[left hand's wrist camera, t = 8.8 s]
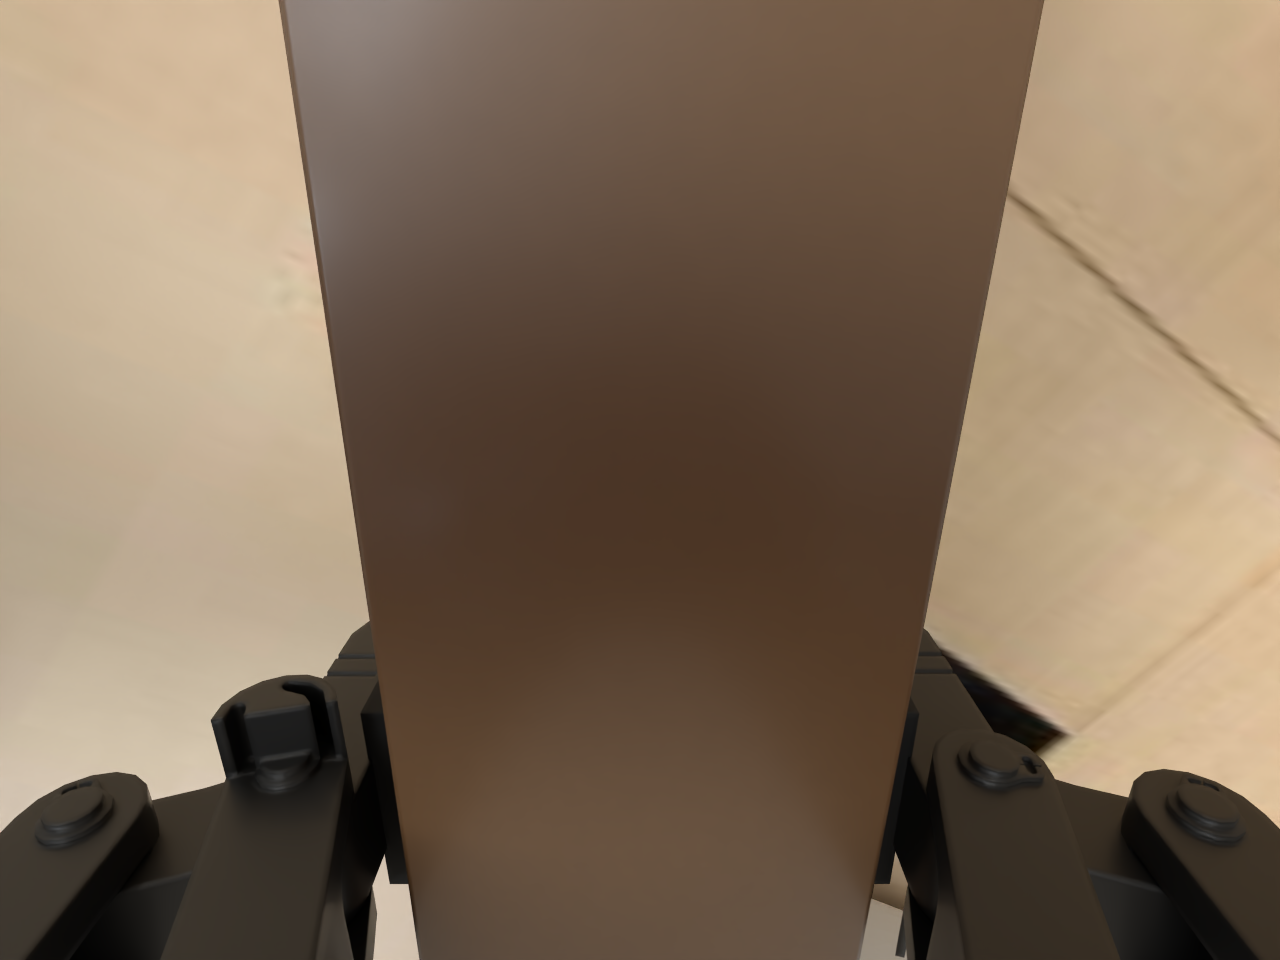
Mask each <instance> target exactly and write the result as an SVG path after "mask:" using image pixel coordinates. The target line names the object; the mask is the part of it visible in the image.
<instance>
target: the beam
mask: <svg viewBox="0 0 1280 960" xmlns="http://www.w3.org/2000/svg"><path fill="white" fill-rule="evenodd" d="M1043 3H1044V0H279V6H280V13H281V20H282V26H283V33H284V40H285V47H286V54H287V60H288V67H289V74H290V81H291V88H292V95H293V101H294V108H295V115H296V122H297V129H298V135H299V142H300V149H301V156H302V163H303V169H304V176H305V183H306V190H307V197H308V203H309V210H310V217H311V224H312V231H313V237H314V244H315V251H316V258H317V265H318V272H319V278H320V285H321V292H322V299H323V306H324V312H325V319H326V326H327V333H328V340H329V346H330V353H331V360H332V367H333V374H334V380H335V387H336V394H337V401H338V408H339V414H340V421H341V428H342V435H343V442H344V449H345V455H346V462H347V469H348V476H349V483H350V489H351V496H352V503H353V510H354V517H355V523H356V530H357V537H358V544H359V551H360V557H361V564H362V571H363V578H364V585H365V591H366V598H367V605H368V612H369V619H370V626H371V632H372V639H373V646H374V653H375V660H376V666H377V673H378V680H379V687H380V694H381V700H382V707H383V714H384V721H385V728H386V734H387V741H388V748H389V755H390V762H391V768H392V775H393V782H394V789H395V796H396V803H397V809H398V816H399V823H400V830H401V837H402V843H403V850H404V857H405V864H406V871H407V877H408V884H409V891H410V898H411V905H412V911H413V918H414V925H415V932H416V939H417V945H418V952H419V959H420V960H860V955H861V950H862V945H863V939H864V934H865V929H866V924H867V919H868V913H869V908H870V903H871V898H872V893H873V887H874V882H875V877H876V872H877V867H878V861H879V856H880V851H881V846H882V841H883V835H884V830H885V825H886V820H887V815H888V809H889V804H890V799H891V794H892V789H893V783H894V778H895V773H896V768H897V763H898V757H899V752H900V747H901V742H902V737H903V731H904V726H905V721H906V716H907V711H908V705H909V700H910V695H911V690H912V685H913V679H914V674H915V669H916V664H917V659H918V653H919V648H920V643H921V638H922V633H923V627H924V622H925V617H926V612H927V607H928V601H929V596H930V591H931V586H932V581H933V575H934V570H935V565H936V560H937V555H938V549H939V544H940V539H941V534H942V529H943V523H944V518H945V513H946V508H947V503H948V497H949V492H950V487H951V482H952V476H953V471H954V466H955V461H956V456H957V450H958V445H959V440H960V435H961V430H962V424H963V419H964V414H965V409H966V404H967V398H968V393H969V388H970V383H971V378H972V372H973V367H974V362H975V357H976V352H977V346H978V341H979V336H980V331H981V326H982V320H983V315H984V310H985V305H986V300H987V294H988V289H989V284H990V279H991V274H992V268H993V263H994V258H995V253H996V248H997V242H998V237H999V232H1000V227H1001V222H1002V216H1003V211H1004V206H1005V201H1006V196H1007V190H1008V185H1009V180H1010V175H1011V170H1012V164H1013V159H1014V154H1015V149H1016V144H1017V138H1018V133H1019V128H1020V123H1021V118H1022V112H1023V107H1024V102H1025V97H1026V92H1027V86H1028V81H1029V76H1030V71H1031V66H1032V60H1033V55H1034V50H1035V45H1036V40H1037V34H1038V29H1039V24H1040V19H1041V14H1042V8H1043Z"/></svg>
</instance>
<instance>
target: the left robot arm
mask: <svg viewBox="0 0 1280 960" xmlns="http://www.w3.org/2000/svg"><path fill="white" fill-rule="evenodd" d="M211 723H212V727H213V730H214V734H215V738H216V741H217V745H218V749H219V753H220V756H221V760H222V764H223V767H224V771H225V775H226V780H225V782H224V783H221V784H217V785H214V786H211V787H207V788H204V789H200V790H195V791H191V792H187V793H182V794H178V795H174V796H169V797H165V798H161V799H156V800H152V799H151V796H150V793H149V790H148V787H147V784H146V783H145V782H143V781H142V780H141V779H140V778H139V777H137V776H136V775H132V774H126V773H119V772H114V773H106V774H99V775H92V776H89V777H86V778H83V779H80V780H77V781H74V782H72V783H69V784H66V785H64V786H62V787H60V788H58V789H56V790H54V791H53V792H51V793H49V794H47V795H45V796H43V797H42V798H40V799H38V800H37V801H35V802H34V803H33V804H32V805H30V806H29V807H28V808H27V809H25V810H24V811H23V812H22V813H21V814H19V815H18V816H17V817H16V818H15V819H14V820H13V821H12V822H11V823H10V824H9V825H8V826H7V827H6V828H5V829H4V830H3V831H2V832H1V833H0V960H373V954H374V942H375V931H376V919H377V911H376V904H375V898H374V892H373V887H372V885H373V882H374V880H375V877H376V875H377V872H378V869H379V867H380V864H381V862H382V859H383V857H384V854H385V859H386V864H387V870H388V876H389V882H390V884H408V877H407V871H406V864H405V857H404V850H403V843H402V837H401V830H400V823H399V816H398V809H397V803H396V796H395V789H394V782H393V775H392V768H391V762H390V755H389V748H388V741H387V734H386V728H385V721H384V714H383V707H382V700H381V694H380V687H379V680H378V673H377V666H376V660H375V653H374V646H373V639H372V632H371V626H370V621H369V622H368V623H366V624H365V625H364V626H362V627H361V628H360V629H358V630H357V631H356V632H354V633H353V634H352V635H351V636H350V638H349V640H348V641H347V643H346V644H345V646H344V647H343V649H342V650H341V652H340V653H339V658H338V659H336V660H335V661H334V663H333V664H332V666H331V667H330V669H329V670H328V672H327V676H324V678H323V679H322V678H318V677H314V676H311V675H287V676H282V677H278V678H274V679H270V680H266V681H262V682H260V683H258V684H255V685H253V686H251V687H249V688H247V689H244V690H242V691H240V692H239V693H237V694H236V695H235V696H233V697H232V698H231V699H229V700H228V701H227V702H225V703H224V704H223V705H221V707H220V708H219V710H218V711H217V712H216V714H215V715H214V716H213V718H212V719H211ZM895 851H896V854H897V857H898V859H899V862H900V864H901V867H902V870H903V872H904V875H905V877H906V880H907V882H908V887H907V892H906V898H905V903H904V908H903V914H902V919H901V924H900V930H899V935H898V941H897V947H896V953H895V956H899V957H903V958H904V957H905V952H907V960H1280V829H1279V828H1278V827H1277V826H1276V825H1275V824H1274V823H1273V822H1272V821H1271V820H1270V819H1269V818H1268V817H1267V816H1266V815H1265V814H1264V813H1263V812H1262V811H1260V810H1259V809H1258V808H1257V807H1255V806H1254V805H1253V804H1252V803H1250V802H1249V801H1248V800H1247V799H1245V798H1244V797H1243V796H1241V795H1239V794H1237V793H1236V792H1234V791H1232V790H1230V789H1228V788H1226V787H1225V786H1223V785H1221V784H1219V783H1217V782H1215V781H1212V780H1209V779H1206V778H1203V777H1201V776H1197V775H1195V774H1192V773H1189V772H1182V771H1174V770H1167V769H1161V770H1155V771H1148V772H1144V773H1143V774H1142V775H1141V776H1139V777H1138V778H1137V779H1136V780H1135V781H1134V782H1133V785H1132V788H1131V791H1130V795H1129V798H1128V797H1123V796H1119V795H1115V794H1110V793H1106V792H1102V791H1097V790H1093V789H1089V788H1084V787H1080V786H1076V785H1072V784H1069V783H1066V782H1062V781H1059V780H1056V779H1054V776H1053V775H1052V773H1051V772H1050V770H1049V769H1048V767H1047V765H1046V764H1045V762H1044V761H1043V760H1042V759H1041V758H1040V757H1038V756H1037V755H1036V754H1035V753H1034V752H1032V751H1031V750H1030V749H1029V748H1028V747H1027V746H1025V745H1023V744H1021V743H1019V742H1017V741H1015V740H1013V739H1011V738H1009V737H1007V736H1005V735H1002V734H998V733H994V732H993V730H992V729H991V727H990V726H989V724H988V723H987V721H986V720H985V718H984V717H983V715H982V713H981V712H980V710H979V709H978V707H977V706H976V704H975V703H974V701H973V700H972V698H971V697H970V695H969V694H968V692H967V691H966V689H965V688H964V686H963V684H962V683H961V681H960V680H959V678H958V677H957V675H956V674H953V669H952V668H951V666H950V665H949V663H948V662H947V660H946V659H945V657H944V656H942V655H941V651H940V649H939V648H938V646H937V645H936V643H935V642H934V640H933V639H932V637H931V636H930V634H929V633H928V631H926V630H925V629H924V628H923V633H922V638H921V643H920V648H919V653H918V659H917V664H916V669H915V674H914V679H913V685H912V690H911V695H910V700H909V705H908V711H907V716H906V721H905V726H904V731H903V737H902V742H901V747H900V752H899V757H898V763H897V768H896V773H895V778H894V783H893V789H892V794H891V799H890V804H889V809H888V815H887V820H886V825H885V830H884V835H883V841H882V846H881V851H880V856H879V861H878V867H877V872H876V877H875V882H874V884H890V879H891V873H892V868H893V862H894V856H895Z"/></svg>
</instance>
